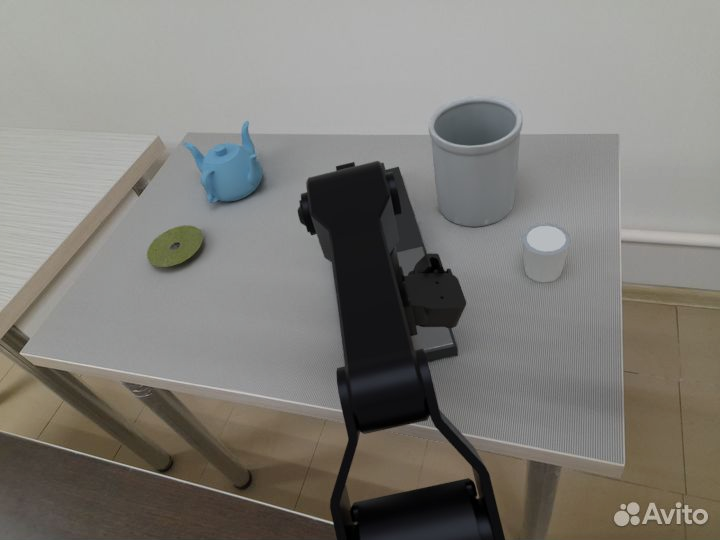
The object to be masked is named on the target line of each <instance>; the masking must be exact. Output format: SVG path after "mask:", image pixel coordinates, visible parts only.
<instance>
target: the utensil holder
mask: <svg viewBox="0 0 720 540" xmlns="http://www.w3.org/2000/svg"><path fill="white" fill-rule="evenodd" d="M523 122H524V121H523V113H522V111H521V109H520V108H519V106H518V105H517V104H515V103H514V102H513V101H511V100H509V99H507V98H504V97H500V96H496V95H488V94H474V95H468V96H462V97H459V98H456V99H455V98H454V99H452V100H449V101H447V102H445V103H444V104H442V105H441V106H439V107H438V108H437V109H435V111H434V112H433V113H432V114H431V116H430V118H429V120H428V133H429V137H430V139H431V151H432V162H433V173H434V181H435V182H434V183H435V190H436V196H437V197H436V198H437V203H438V204H437V205H438V208H439V211H440V213H441V214H442V216H443V217H444V218H446V219H447V220H448V221H450V222H452V223H454V224H456V225H459V226H463V227H470V228H471V227H472V228H473V227H474V228H476V227H485V226H490V225H493V224H496V223H498V222H499V221H502V220H503V219H504V218H506V217H507V216H508V215H509V214H510V213H511V211H512V210H513V208H514V205H515V198H516V189H517V188H516V187H517V179H518V165H519V152H520V140H521V131H522V128H523Z"/></svg>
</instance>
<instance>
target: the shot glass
mask: <svg viewBox="0 0 720 540" xmlns="http://www.w3.org/2000/svg"><path fill="white" fill-rule="evenodd" d="M521 241H522V255H523V265H524V266H523V268H524V273H525V275H526V276H527V277H528V278H529V279H530V280H532V281H534V282H537V283H540V284H544V283H551V282H554V281H556V280H558V279H559V278H560V277H561V275H562V272H563V269H564V266H565V263H566V258H567V255H568V252H569V248H570V245H571V241H572V240H571V236H570V233H569V232H568V230H567V229H566V228H564V227H563V226H560V225H558V224H556V223H551V222H540V223H535V224H533V225H530V226H529V227H527V229H525V230H524V232H523V234H522V236H521Z"/></svg>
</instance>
